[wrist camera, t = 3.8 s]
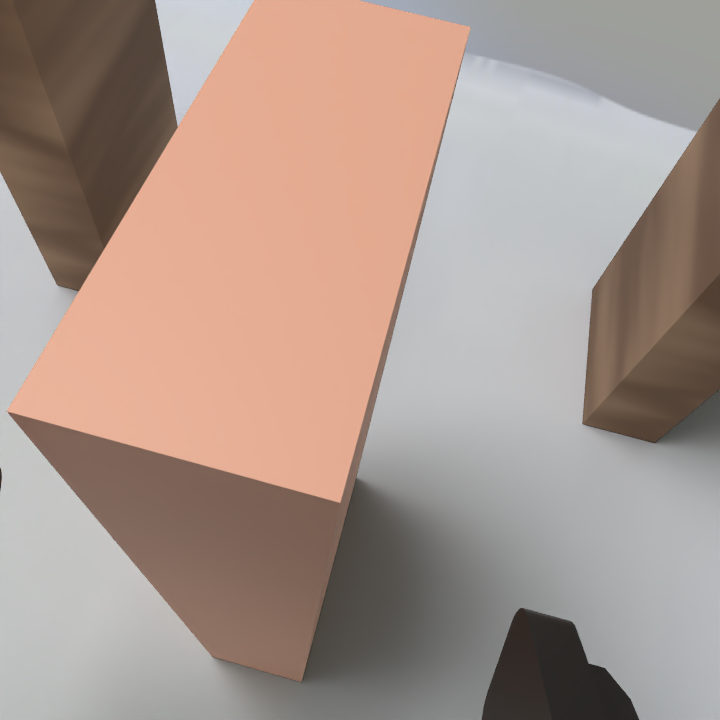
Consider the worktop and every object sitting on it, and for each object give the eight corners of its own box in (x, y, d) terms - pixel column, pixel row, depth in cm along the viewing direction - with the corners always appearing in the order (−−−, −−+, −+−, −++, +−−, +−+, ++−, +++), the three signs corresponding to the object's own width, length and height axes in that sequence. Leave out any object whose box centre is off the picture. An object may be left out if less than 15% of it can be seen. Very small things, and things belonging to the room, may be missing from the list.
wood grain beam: (187, 186, 26) (91, -357, 13) (124, 302, 23) (-83, -258, 10) (128, 171, 26) (-25, -382, 13) (57, 285, 23) (-231, -291, 10)
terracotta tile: (356, 477, 21) (471, 26, 8) (301, 682, 17) (340, 503, 5) (279, 456, 21) (267, -22, 8) (212, 656, 18) (5, 411, 5)
